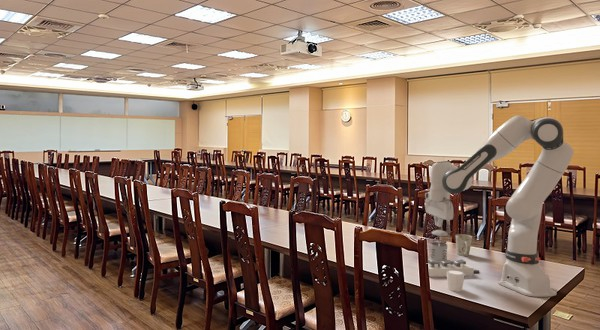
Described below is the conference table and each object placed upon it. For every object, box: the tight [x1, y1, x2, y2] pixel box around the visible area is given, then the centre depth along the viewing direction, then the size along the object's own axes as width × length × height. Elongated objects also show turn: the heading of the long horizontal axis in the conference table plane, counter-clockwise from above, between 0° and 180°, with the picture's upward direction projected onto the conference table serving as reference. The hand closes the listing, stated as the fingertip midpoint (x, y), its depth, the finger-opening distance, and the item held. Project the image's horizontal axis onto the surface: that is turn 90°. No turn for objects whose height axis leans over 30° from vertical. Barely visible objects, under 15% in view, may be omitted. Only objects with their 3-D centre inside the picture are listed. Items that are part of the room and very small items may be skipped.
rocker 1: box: [427, 259, 440, 266], centre depth 198 cm, size 3×5×1 cm
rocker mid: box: [440, 259, 454, 266], centre depth 199 cm, size 3×5×1 cm
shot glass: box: [446, 270, 465, 293], centre depth 178 cm, size 7×7×7 cm
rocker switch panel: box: [427, 263, 480, 278], centre depth 200 cm, size 8×27×5 cm, turn 99°
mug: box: [455, 233, 473, 257], centre depth 232 cm, size 8×13×10 cm, turn 174°
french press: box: [428, 229, 449, 263], centre depth 221 cm, size 10×12×25 cm
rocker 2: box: [452, 259, 467, 266], centre depth 200 cm, size 3×5×1 cm
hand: (438, 226), depth 202 cm, fingers closed
